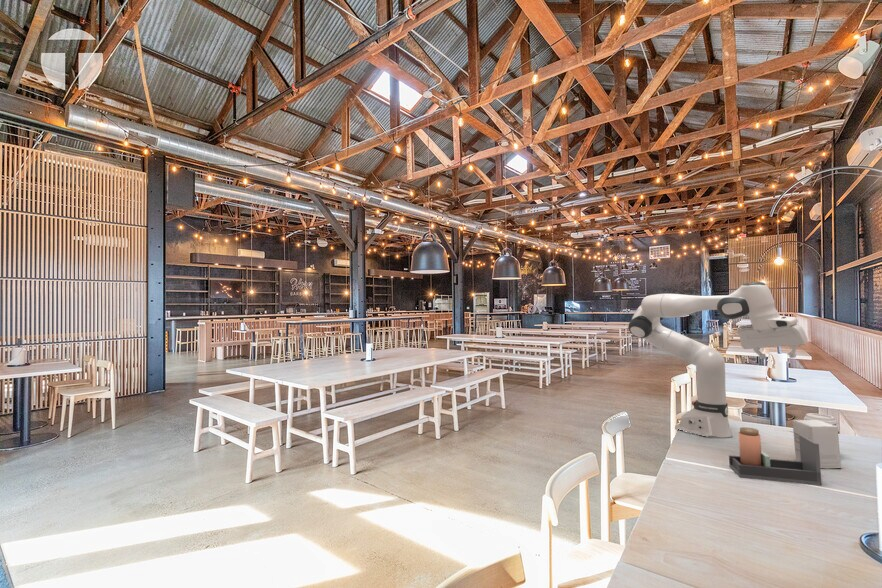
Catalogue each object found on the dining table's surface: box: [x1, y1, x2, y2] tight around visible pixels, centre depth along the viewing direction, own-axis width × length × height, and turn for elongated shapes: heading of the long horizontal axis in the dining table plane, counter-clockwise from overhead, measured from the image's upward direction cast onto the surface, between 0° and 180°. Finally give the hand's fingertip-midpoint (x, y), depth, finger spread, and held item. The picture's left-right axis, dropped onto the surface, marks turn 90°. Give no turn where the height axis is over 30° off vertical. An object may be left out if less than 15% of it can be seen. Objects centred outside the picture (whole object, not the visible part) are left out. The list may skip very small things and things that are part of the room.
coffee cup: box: [803, 412, 839, 426], centre depth 154 cm, size 10×10×15 cm
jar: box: [738, 426, 762, 466], centre depth 138 cm, size 6×6×14 cm
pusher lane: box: [728, 435, 822, 486], centre depth 136 cm, size 22×10×13 cm, turn 70°
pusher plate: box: [761, 449, 771, 467], centre depth 137 cm, size 1×7×6 cm, turn 160°
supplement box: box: [792, 419, 842, 469], centre depth 145 cm, size 9×9×15 cm
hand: (777, 358), depth 151 cm, fingers open, 8 cm apart
